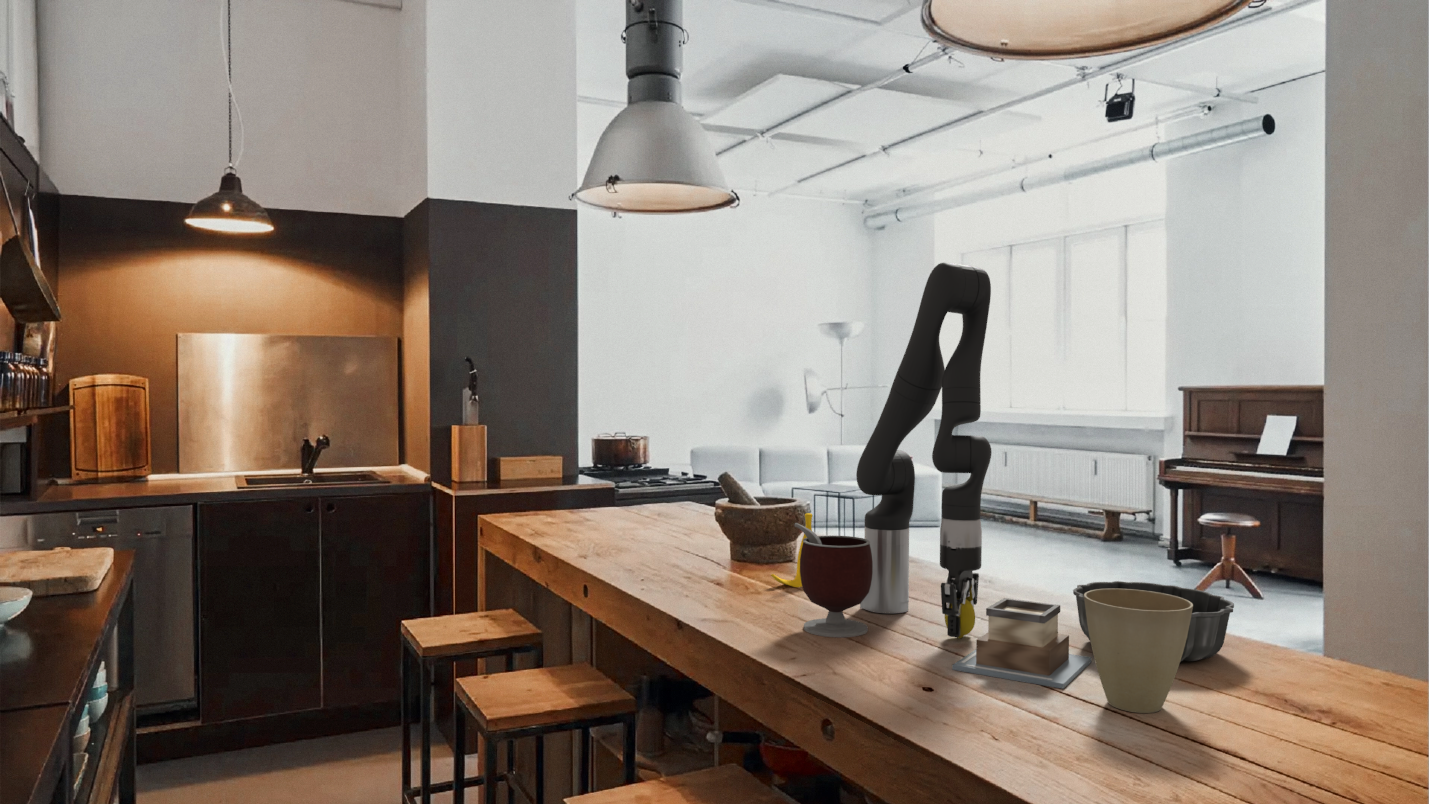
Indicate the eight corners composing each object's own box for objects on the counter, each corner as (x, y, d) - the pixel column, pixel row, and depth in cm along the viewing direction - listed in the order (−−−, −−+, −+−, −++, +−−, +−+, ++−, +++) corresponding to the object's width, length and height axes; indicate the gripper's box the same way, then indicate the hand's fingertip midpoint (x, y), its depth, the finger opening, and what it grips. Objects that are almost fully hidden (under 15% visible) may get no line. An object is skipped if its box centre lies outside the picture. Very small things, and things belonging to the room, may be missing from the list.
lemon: (975, 643, 183) (976, 599, 183) (944, 641, 184) (945, 598, 184) (974, 635, 189) (974, 593, 188) (944, 634, 190) (944, 591, 190)
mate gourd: (880, 625, 196) (881, 523, 196) (860, 641, 184) (861, 533, 183) (805, 616, 203) (806, 518, 202) (781, 632, 190) (781, 527, 190)
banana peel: (801, 574, 247) (802, 507, 247) (854, 588, 232) (854, 516, 231) (747, 582, 238) (748, 511, 237) (798, 596, 222) (798, 521, 222)
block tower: (976, 663, 167) (976, 608, 167) (998, 647, 177) (999, 595, 177) (1049, 675, 161) (1050, 618, 160) (1068, 658, 171) (1069, 604, 170)
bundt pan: (1221, 639, 187) (1222, 586, 187) (1246, 679, 162) (1247, 617, 162) (1071, 627, 196) (1072, 576, 196) (1073, 663, 171) (1074, 605, 171)
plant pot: (1137, 728, 139) (1139, 614, 139) (1060, 696, 153) (1062, 592, 152) (1214, 714, 145) (1216, 604, 144) (1134, 685, 159) (1135, 585, 158)
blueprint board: (952, 669, 166) (952, 664, 166) (987, 645, 181) (987, 640, 181) (1063, 688, 156) (1063, 683, 156) (1091, 661, 171) (1091, 656, 171)
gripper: (954, 535, 194) (953, 622, 194) (926, 545, 182) (925, 638, 182) (993, 539, 190) (992, 628, 190) (967, 550, 178) (965, 644, 178)
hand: (959, 632), depth 186 cm, fingers closed on lemon, 5 cm apart
